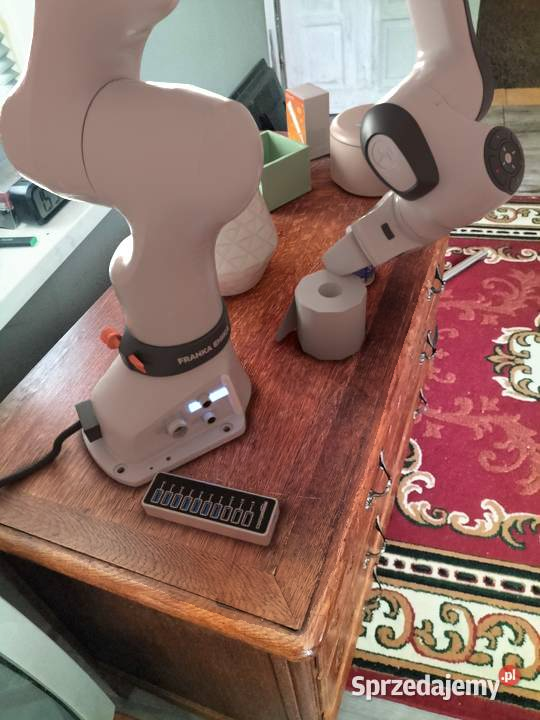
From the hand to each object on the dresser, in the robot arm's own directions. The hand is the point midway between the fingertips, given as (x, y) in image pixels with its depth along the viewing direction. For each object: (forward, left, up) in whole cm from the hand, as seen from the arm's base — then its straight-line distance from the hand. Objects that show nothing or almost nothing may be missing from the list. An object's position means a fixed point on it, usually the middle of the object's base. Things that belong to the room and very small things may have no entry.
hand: (355, 250), depth 83 cm
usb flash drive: (+23, +17, +7) cm, 29 cm away
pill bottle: (0, -1, -5) cm, 5 cm away
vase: (-14, +15, -5) cm, 21 cm away
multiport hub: (-42, -18, -5) cm, 46 cm away
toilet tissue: (-14, -7, -5) cm, 16 cm away
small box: (+27, +39, -5) cm, 48 cm away
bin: (+9, +32, -5) cm, 34 cm away
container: (+27, +20, -5) cm, 33 cm away
